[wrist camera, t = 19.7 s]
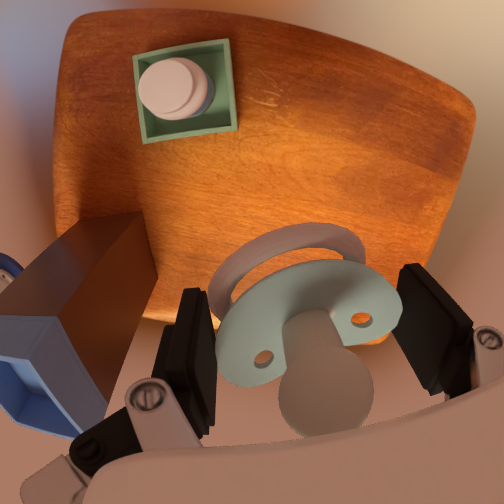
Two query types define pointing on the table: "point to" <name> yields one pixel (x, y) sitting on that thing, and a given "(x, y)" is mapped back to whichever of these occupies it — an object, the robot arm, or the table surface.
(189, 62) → the pill bottle
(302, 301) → the pacifier
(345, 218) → the table surface
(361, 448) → the robot arm
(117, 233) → the blue bin
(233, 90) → the green bin
